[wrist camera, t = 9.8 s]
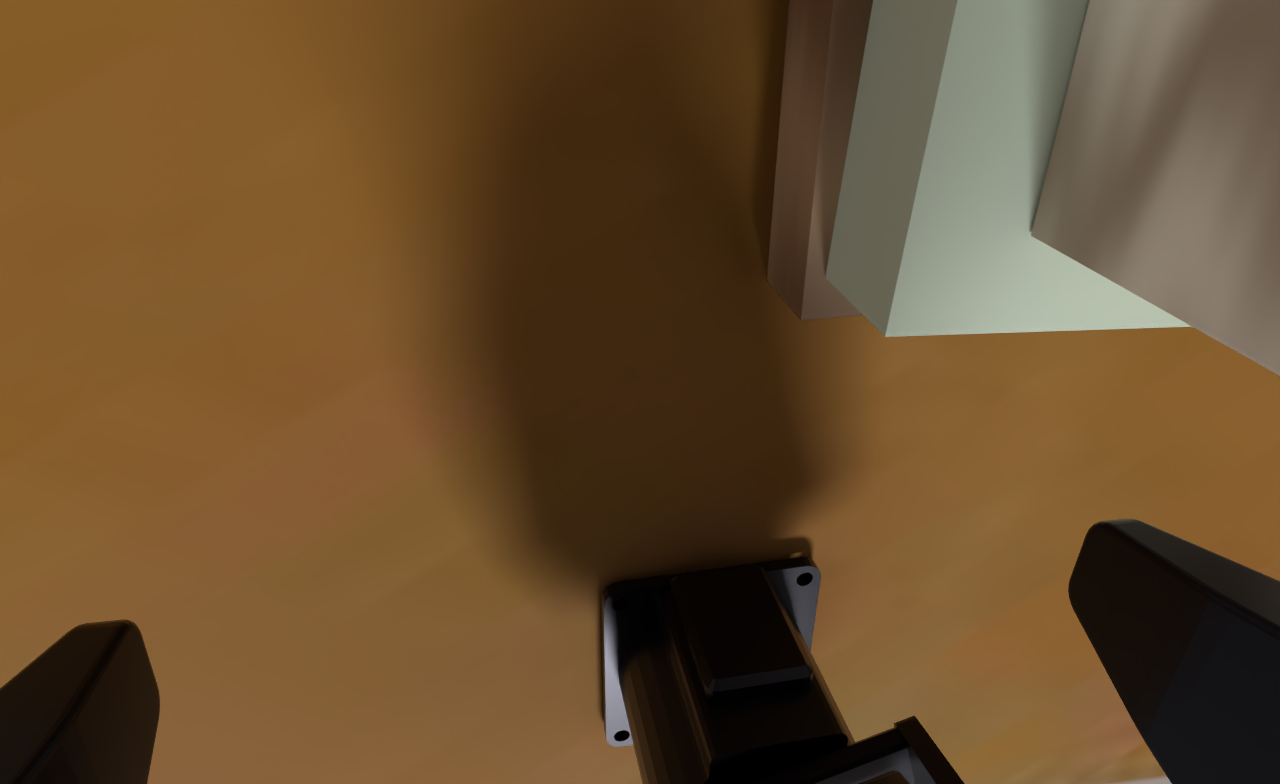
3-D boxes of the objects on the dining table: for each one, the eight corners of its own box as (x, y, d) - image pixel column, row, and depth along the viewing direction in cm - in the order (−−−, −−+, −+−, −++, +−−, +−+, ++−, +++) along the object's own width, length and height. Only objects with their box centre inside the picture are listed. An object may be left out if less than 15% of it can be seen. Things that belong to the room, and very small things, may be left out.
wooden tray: (1176, 240, 24) (1263, 281, 22) (759, 271, 22) (800, 320, 20) (1350, -311, 18) (1499, -346, 16) (803, -340, 16) (872, -384, 14)
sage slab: (1214, 270, 21) (1320, 322, 19) (824, 277, 19) (885, 336, 17) (1415, -236, 16) (1598, -261, 14) (924, -298, 14) (1030, -340, 12)
